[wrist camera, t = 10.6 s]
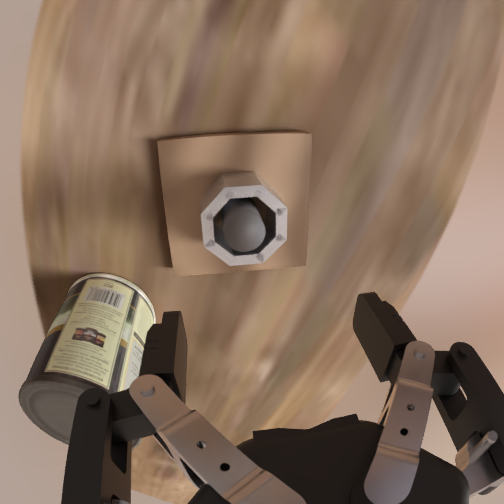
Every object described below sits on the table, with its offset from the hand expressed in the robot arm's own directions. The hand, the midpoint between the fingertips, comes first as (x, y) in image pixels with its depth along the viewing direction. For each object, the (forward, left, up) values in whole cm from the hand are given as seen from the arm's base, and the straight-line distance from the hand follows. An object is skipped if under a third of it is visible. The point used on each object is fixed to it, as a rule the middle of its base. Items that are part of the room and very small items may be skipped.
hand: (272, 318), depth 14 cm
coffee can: (+14, +11, -16) cm, 24 cm away
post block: (0, 0, -15) cm, 15 cm away
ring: (0, 0, -14) cm, 14 cm away
